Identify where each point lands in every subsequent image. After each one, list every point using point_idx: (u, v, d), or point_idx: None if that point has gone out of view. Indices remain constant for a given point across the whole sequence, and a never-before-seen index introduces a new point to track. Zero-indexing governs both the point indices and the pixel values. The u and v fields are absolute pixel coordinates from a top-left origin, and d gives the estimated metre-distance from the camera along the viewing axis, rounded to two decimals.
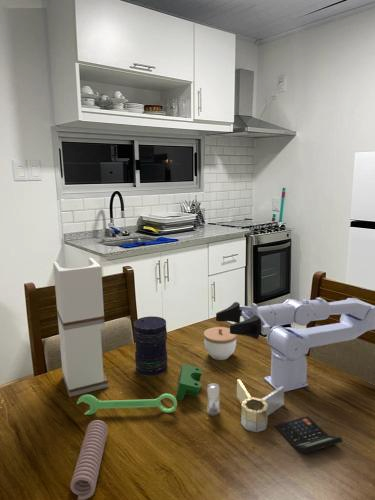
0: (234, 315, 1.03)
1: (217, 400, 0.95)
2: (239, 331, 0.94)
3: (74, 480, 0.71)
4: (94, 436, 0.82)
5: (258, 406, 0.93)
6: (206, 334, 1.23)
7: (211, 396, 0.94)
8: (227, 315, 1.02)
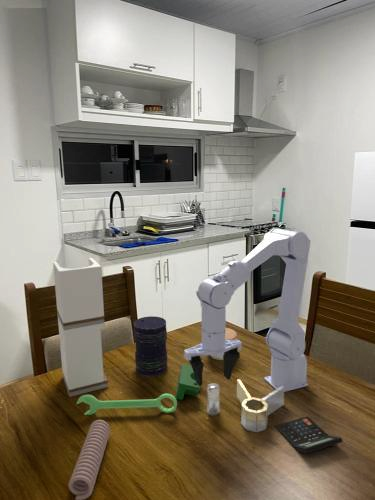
0: None
1: (217, 400, 0.95)
2: None
3: (72, 480, 0.71)
4: (95, 436, 0.82)
5: (258, 406, 0.93)
6: None
7: (211, 396, 0.94)
8: None
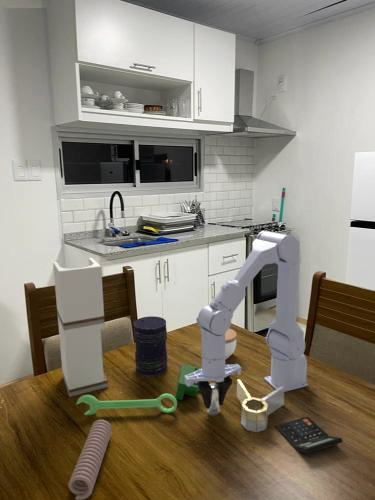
0: None
1: (217, 400, 0.95)
2: None
3: (72, 479, 0.71)
4: (96, 436, 0.82)
5: (258, 406, 0.93)
6: None
7: (211, 396, 0.94)
8: None
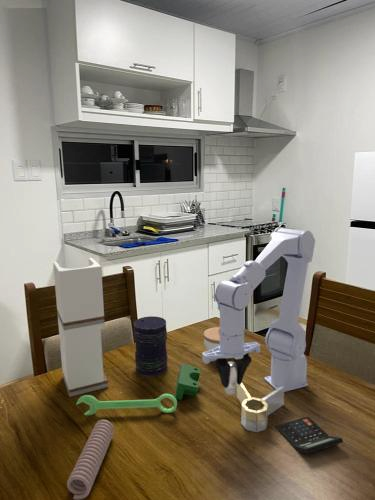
0: None
1: (235, 379, 0.91)
2: None
3: (70, 479, 0.71)
4: (98, 436, 0.82)
5: (258, 406, 0.93)
6: (206, 334, 1.23)
7: (229, 374, 0.91)
8: None
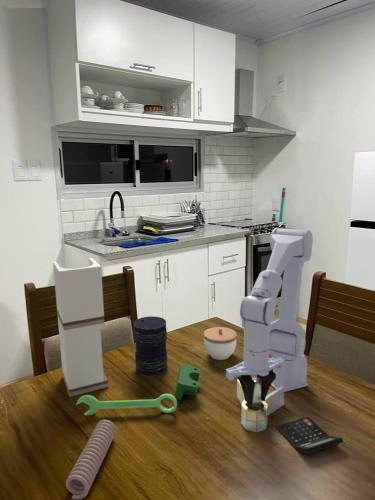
0: None
1: (260, 395, 0.89)
2: None
3: (69, 478, 0.71)
4: (99, 436, 0.82)
5: None
6: (206, 334, 1.23)
7: (254, 391, 0.89)
8: None
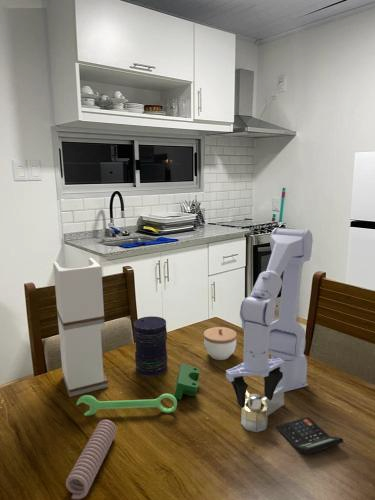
0: None
1: None
2: None
3: (69, 478, 0.71)
4: (99, 436, 0.82)
5: None
6: (206, 334, 1.23)
7: (253, 407, 0.89)
8: None
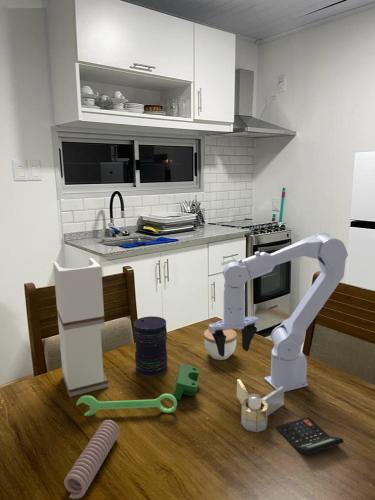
0: None
1: None
2: None
3: (67, 477, 0.72)
4: (101, 436, 0.82)
5: None
6: (206, 334, 1.23)
7: (253, 407, 0.89)
8: None
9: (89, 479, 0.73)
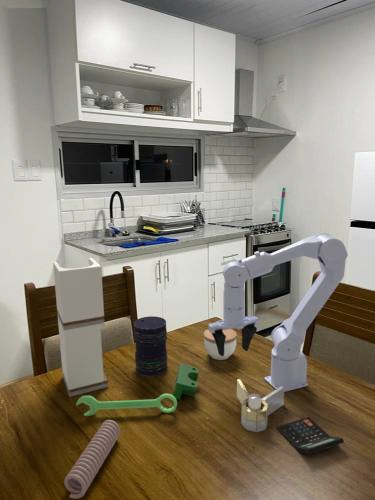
0: None
1: None
2: None
3: (67, 477, 0.72)
4: (101, 436, 0.82)
5: None
6: (206, 334, 1.23)
7: (253, 407, 0.89)
8: None
9: (89, 479, 0.73)
